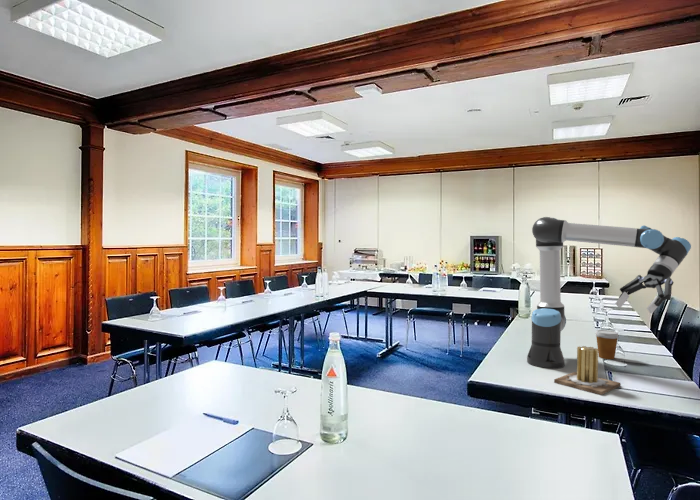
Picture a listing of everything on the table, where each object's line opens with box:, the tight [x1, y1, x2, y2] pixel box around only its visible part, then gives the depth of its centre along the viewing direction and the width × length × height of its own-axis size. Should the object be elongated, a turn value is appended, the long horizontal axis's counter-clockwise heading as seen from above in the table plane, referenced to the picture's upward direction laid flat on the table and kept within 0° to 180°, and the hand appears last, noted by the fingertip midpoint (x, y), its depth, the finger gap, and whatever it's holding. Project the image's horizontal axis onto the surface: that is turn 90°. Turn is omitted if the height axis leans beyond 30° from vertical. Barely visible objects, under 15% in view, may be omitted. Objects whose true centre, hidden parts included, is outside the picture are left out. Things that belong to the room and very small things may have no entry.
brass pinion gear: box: [576, 345, 599, 383], centre depth 167 cm, size 7×7×12 cm
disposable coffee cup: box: [594, 329, 620, 360], centre depth 204 cm, size 10×10×12 cm
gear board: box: [553, 371, 622, 396], centre depth 167 cm, size 17×16×2 cm
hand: (633, 308), depth 174 cm, fingers open, 13 cm apart
